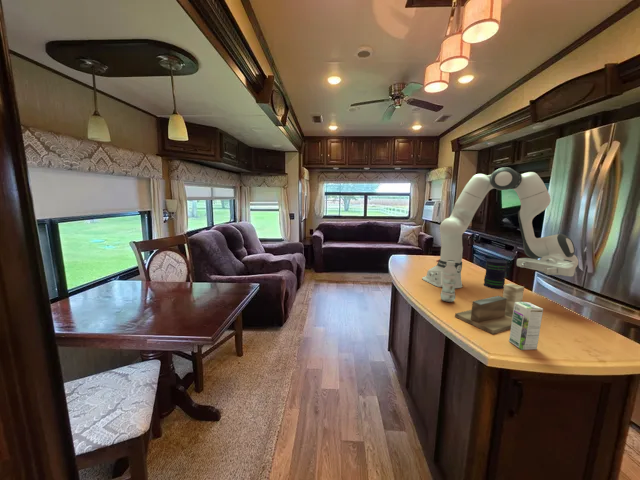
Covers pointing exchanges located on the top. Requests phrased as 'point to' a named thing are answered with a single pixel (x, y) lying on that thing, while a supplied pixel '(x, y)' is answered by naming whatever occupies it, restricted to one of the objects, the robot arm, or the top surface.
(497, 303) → the ridge
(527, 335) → the syrup box
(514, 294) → the ash post
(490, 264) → the storage jar
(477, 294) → the top surface
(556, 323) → the top surface
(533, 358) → the top surface
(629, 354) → the top surface
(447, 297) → the plastic bottle
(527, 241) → the robot arm
